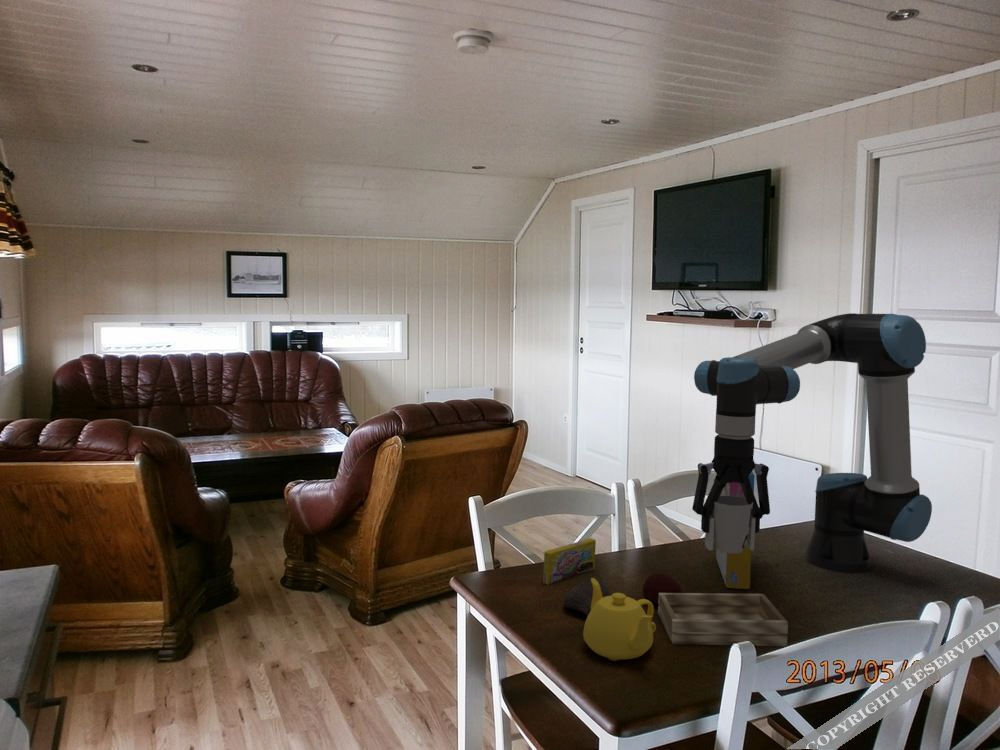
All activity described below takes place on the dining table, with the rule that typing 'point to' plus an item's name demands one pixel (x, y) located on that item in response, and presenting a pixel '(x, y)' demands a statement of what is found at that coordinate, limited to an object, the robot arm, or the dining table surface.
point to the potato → (659, 587)
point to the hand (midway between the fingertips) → (729, 547)
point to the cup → (731, 523)
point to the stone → (583, 596)
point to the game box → (736, 564)
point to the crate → (721, 619)
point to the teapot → (618, 625)
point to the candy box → (569, 561)
